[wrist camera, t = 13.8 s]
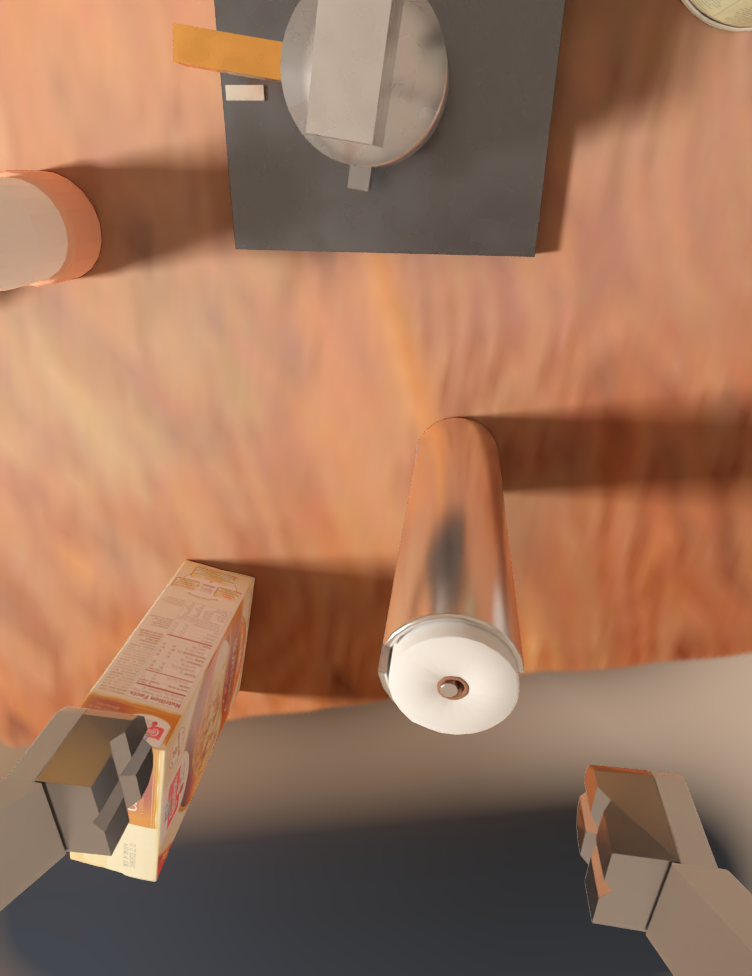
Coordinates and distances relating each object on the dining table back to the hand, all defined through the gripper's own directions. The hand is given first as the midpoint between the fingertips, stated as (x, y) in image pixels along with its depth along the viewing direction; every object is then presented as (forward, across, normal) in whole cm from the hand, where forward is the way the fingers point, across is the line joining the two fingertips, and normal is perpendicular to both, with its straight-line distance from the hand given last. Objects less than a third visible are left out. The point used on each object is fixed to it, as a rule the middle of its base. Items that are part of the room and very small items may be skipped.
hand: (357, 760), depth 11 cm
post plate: (+37, +4, -14) cm, 40 cm away
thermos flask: (+37, -2, +10) cm, 39 cm away
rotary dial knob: (+32, +7, -14) cm, 36 cm away
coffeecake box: (+37, +20, +30) cm, 52 cm away
